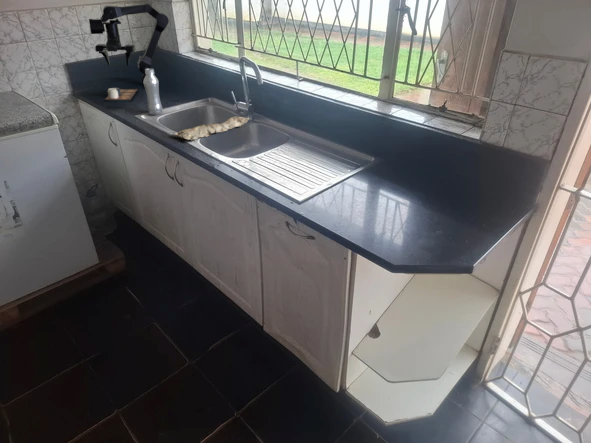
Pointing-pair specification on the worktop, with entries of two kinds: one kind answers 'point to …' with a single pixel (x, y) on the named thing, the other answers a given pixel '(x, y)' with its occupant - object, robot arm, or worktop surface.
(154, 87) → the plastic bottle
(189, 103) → the worktop surface
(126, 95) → the wooden grid board
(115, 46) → the robot arm
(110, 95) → the white lidded jar
